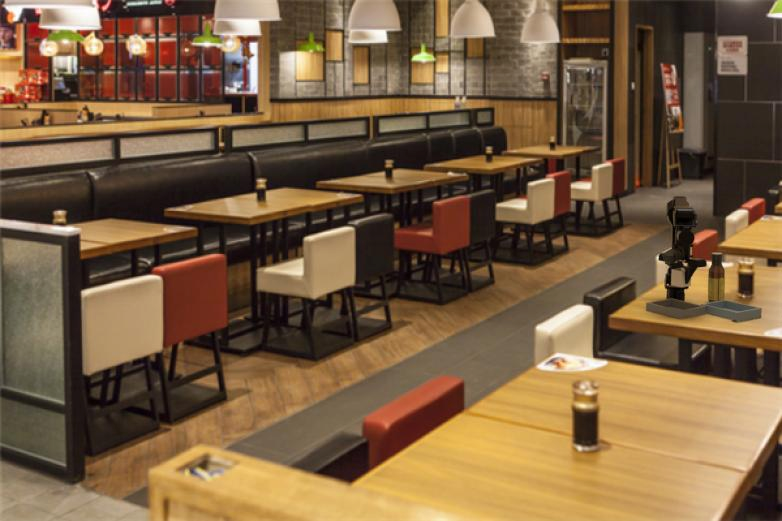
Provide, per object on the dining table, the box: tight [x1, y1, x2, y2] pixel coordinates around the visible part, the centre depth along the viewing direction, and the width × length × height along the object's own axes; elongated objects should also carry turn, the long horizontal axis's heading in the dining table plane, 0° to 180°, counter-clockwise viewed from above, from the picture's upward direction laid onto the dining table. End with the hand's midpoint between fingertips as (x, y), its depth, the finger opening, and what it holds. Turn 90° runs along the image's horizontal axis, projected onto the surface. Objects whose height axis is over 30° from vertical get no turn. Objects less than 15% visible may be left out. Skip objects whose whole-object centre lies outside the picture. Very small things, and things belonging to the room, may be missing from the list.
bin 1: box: [645, 298, 706, 320], centre depth 377 cm, size 17×14×4 cm
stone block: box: [671, 268, 692, 287], centre depth 375 cm, size 5×5×6 cm
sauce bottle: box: [707, 252, 726, 303], centre depth 393 cm, size 7×6×20 cm
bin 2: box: [700, 299, 763, 323], centre depth 374 cm, size 17×14×4 cm
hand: (681, 282), depth 375 cm, fingers closed on stone block, 5 cm apart
